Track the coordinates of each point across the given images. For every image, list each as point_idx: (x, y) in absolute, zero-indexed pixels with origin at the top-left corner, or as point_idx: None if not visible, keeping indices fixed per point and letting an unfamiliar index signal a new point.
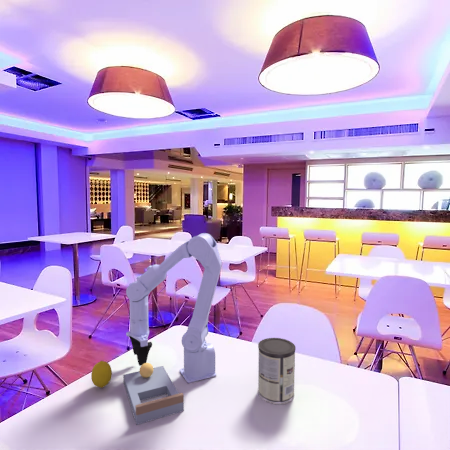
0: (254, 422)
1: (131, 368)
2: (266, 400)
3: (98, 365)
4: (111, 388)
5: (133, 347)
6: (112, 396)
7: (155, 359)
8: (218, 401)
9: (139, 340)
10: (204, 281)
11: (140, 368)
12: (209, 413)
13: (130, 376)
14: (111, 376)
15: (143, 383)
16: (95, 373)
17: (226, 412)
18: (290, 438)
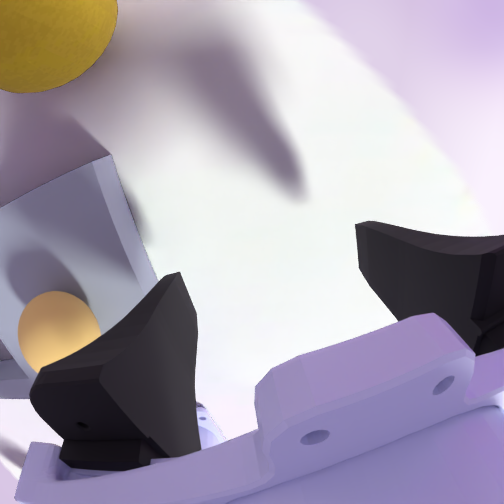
0: (18, 455)
1: (282, 183)
2: None
3: None
4: (64, 98)
5: (388, 241)
6: (5, 129)
7: (348, 311)
8: (51, 442)
9: (52, 492)
10: None
11: (27, 317)
12: (8, 417)
13: (68, 217)
14: (55, 87)
15: (17, 296)
16: None
17: (23, 439)
18: (9, 465)
